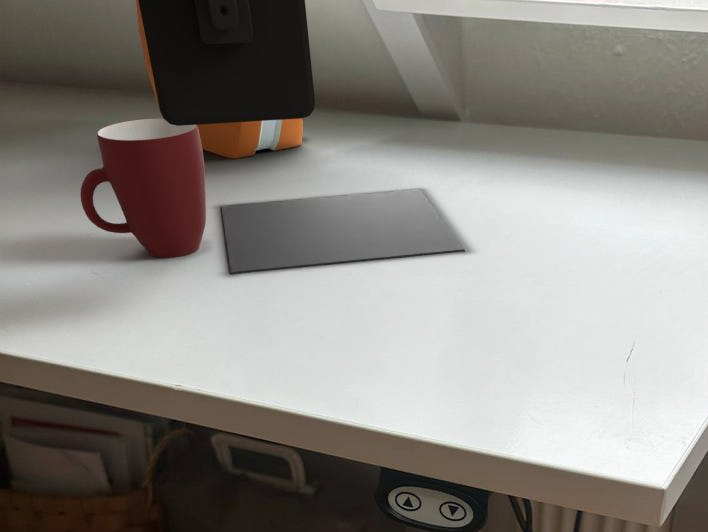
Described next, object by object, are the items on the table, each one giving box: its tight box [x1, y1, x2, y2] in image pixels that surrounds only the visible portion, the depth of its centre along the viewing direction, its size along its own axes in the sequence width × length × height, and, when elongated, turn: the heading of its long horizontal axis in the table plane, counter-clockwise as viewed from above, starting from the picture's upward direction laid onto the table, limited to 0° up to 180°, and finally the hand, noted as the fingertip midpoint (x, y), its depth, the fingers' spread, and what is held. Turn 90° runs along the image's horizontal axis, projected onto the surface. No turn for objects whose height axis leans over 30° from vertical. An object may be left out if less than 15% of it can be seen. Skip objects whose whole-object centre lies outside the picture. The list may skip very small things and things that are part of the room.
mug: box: [79, 117, 207, 259], centre depth 79 cm, size 11×8×10 cm
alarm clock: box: [135, 0, 304, 159], centre depth 109 cm, size 22×10×23 cm, turn 42°
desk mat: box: [220, 188, 466, 275], centre depth 87 cm, size 20×20×1 cm
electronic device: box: [138, 0, 316, 126], centre depth 60 cm, size 4×10×10 cm, turn 106°
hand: (226, 33), depth 60 cm, fingers closed on electronic device, 4 cm apart
